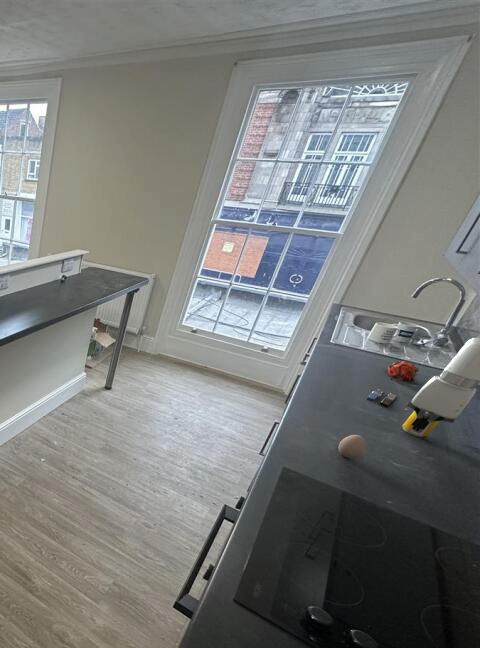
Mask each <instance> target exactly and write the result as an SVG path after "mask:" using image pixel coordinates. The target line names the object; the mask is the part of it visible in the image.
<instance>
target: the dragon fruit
mask: <svg viewBox="0 0 480 648" xmlns="http://www.w3.org/2000/svg"><path fill="white" fill-rule="evenodd" d="M386 369H387V374H388V375H389V376H390V377H391V378H395V379H396V380H398V381H403V380H405V381H407V382H413V381H415V380H416V376H417V373H418V372H419V371H420V369H419V368H418V367H416V365H415V364H414V363H412V362H409V361H406V360H403V361H401V362H400V361H396V362H393V363H392V364H391V365H389V366H388V367H387V368H386Z"/></svg>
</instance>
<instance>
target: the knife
mask: <svg viewBox="0 0 480 648" xmlns="http://www.w3.org/2000/svg"><path fill="white" fill-rule="evenodd" d="M397 397H398V395H397V394H394V393H391V392H390V393H389V394H388V395H387V396H386V397H384V398H383V399H382V401H380V403H379V406H382V407H385V408H388V407H389V406H390V405H391V404H392V403H393V401H394V400H395V399H396V398H397Z"/></svg>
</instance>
